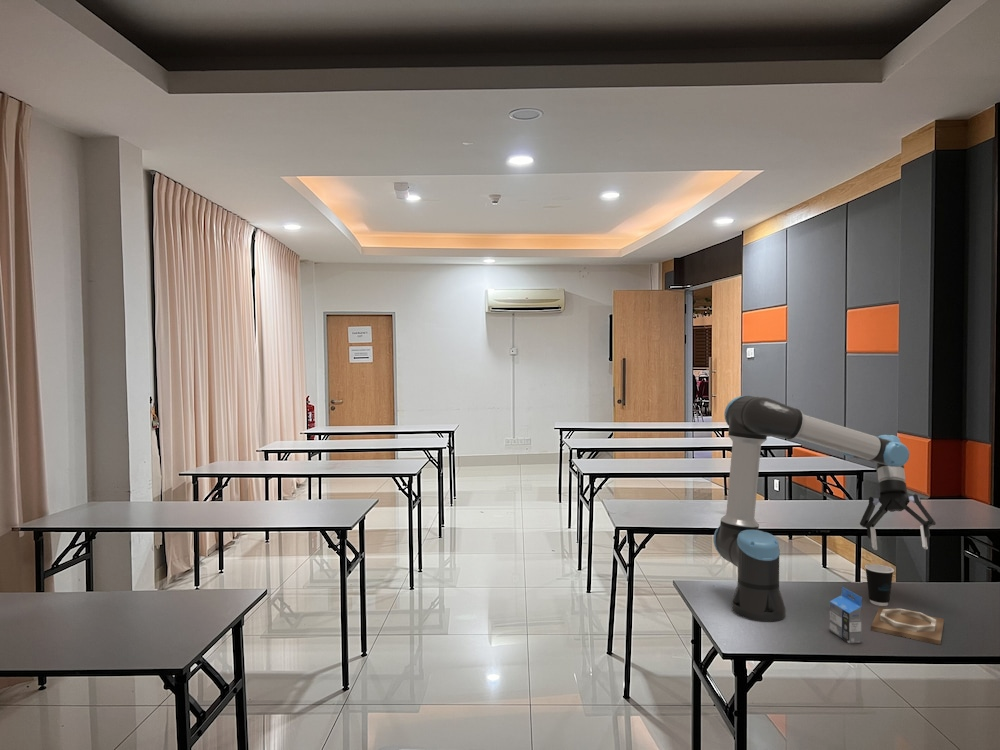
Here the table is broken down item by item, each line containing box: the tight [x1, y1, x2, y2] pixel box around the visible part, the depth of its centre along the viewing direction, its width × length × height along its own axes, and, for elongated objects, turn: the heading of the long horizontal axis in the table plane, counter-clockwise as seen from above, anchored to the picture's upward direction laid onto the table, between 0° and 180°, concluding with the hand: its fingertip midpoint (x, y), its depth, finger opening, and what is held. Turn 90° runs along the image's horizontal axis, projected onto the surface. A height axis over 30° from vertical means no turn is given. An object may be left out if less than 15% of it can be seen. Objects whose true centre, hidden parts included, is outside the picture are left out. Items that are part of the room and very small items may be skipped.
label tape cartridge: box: [829, 586, 863, 645], centre depth 175 cm, size 9×4×12 cm, turn 5°
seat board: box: [870, 606, 945, 645], centre depth 181 cm, size 16×18×3 cm
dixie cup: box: [864, 563, 895, 607], centre depth 199 cm, size 8×8×11 cm
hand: (899, 548), depth 196 cm, fingers open, 13 cm apart
